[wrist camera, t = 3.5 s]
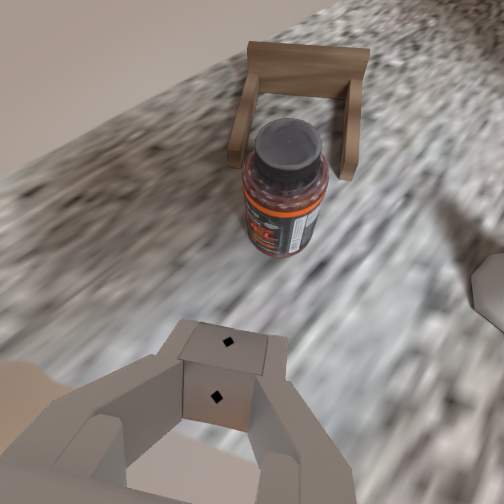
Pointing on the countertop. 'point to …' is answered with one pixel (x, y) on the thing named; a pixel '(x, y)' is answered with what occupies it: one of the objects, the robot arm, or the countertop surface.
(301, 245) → the supplement bottle
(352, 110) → the walnut bay
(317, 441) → the robot arm
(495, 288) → the flask
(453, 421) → the countertop surface
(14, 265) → the countertop surface
